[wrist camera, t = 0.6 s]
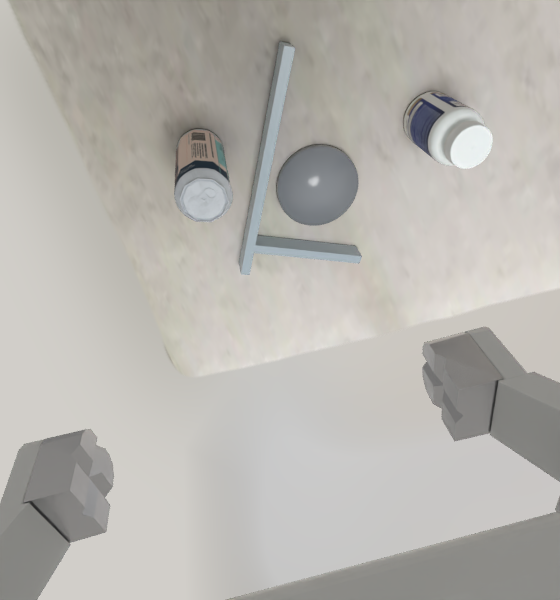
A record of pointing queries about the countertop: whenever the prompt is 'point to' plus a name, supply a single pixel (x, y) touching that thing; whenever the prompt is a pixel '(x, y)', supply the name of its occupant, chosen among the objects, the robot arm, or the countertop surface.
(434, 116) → the pill bottle
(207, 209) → the beer can
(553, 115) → the countertop surface
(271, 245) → the divider wall
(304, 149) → the coaster
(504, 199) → the countertop surface
